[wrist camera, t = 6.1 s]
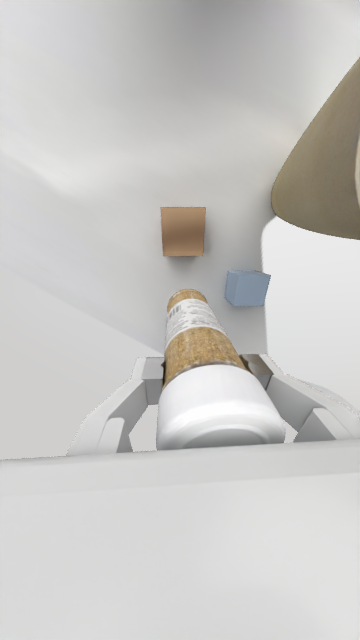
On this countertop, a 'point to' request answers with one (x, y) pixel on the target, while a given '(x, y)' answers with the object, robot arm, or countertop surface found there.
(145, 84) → the countertop surface
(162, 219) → the walnut block
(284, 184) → the plant pot
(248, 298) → the slate blue block
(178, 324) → the sprinkles bottle
